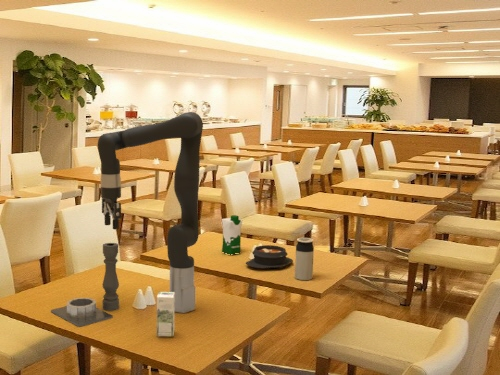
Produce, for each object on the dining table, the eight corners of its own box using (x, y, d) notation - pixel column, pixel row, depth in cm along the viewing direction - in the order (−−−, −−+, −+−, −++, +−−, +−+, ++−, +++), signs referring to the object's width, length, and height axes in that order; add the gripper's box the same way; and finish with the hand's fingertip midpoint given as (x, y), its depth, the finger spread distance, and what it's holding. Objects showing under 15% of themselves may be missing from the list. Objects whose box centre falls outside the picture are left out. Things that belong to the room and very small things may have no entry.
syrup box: (174, 330, 223) (175, 291, 220) (173, 337, 217) (173, 296, 214) (158, 330, 222) (158, 290, 220) (156, 337, 217) (156, 296, 214)
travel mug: (292, 279, 286) (294, 240, 283) (297, 274, 293) (298, 236, 291) (310, 281, 283) (311, 242, 281) (314, 276, 291) (315, 238, 288)
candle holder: (102, 311, 239) (102, 247, 235) (102, 306, 245) (101, 243, 241) (119, 310, 241) (119, 246, 237) (118, 304, 247) (118, 242, 243)
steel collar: (112, 317, 233) (112, 305, 233) (78, 327, 224) (78, 314, 223) (84, 303, 247) (83, 291, 246) (50, 311, 237) (50, 299, 237)
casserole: (262, 274, 292) (263, 257, 291) (237, 265, 306) (237, 248, 305) (301, 266, 308) (302, 249, 307) (275, 257, 322) (276, 241, 321)
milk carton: (229, 256, 321) (230, 217, 318) (219, 252, 328) (219, 214, 325) (243, 254, 327) (244, 216, 323) (232, 250, 333) (233, 213, 330)
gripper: (127, 187, 238) (127, 229, 240) (113, 182, 250) (114, 222, 252) (108, 188, 234) (108, 231, 236) (94, 183, 246) (95, 224, 248)
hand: (111, 227), depth 244 cm, fingers open, 8 cm apart
